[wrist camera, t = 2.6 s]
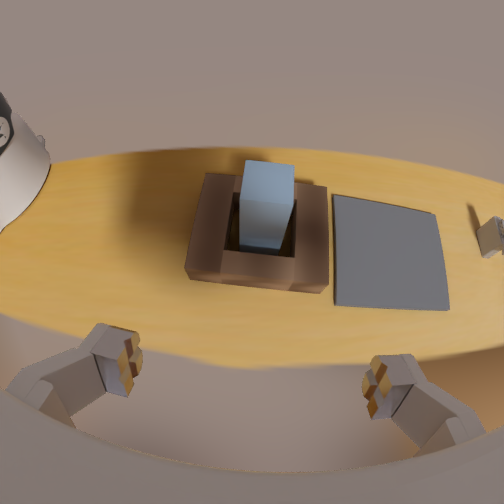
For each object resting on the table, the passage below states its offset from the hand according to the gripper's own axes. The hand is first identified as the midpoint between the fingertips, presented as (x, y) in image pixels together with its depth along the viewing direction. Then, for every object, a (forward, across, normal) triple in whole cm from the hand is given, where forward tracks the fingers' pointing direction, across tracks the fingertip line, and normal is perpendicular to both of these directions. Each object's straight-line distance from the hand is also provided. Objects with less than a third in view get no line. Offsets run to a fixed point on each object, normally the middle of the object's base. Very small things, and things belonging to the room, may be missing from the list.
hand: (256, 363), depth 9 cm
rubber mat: (+19, -14, +2) cm, 24 cm away
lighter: (+21, -31, +1) cm, 37 cm away
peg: (+19, 0, +2) cm, 19 cm away
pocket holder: (+19, 0, +2) cm, 19 cm away
